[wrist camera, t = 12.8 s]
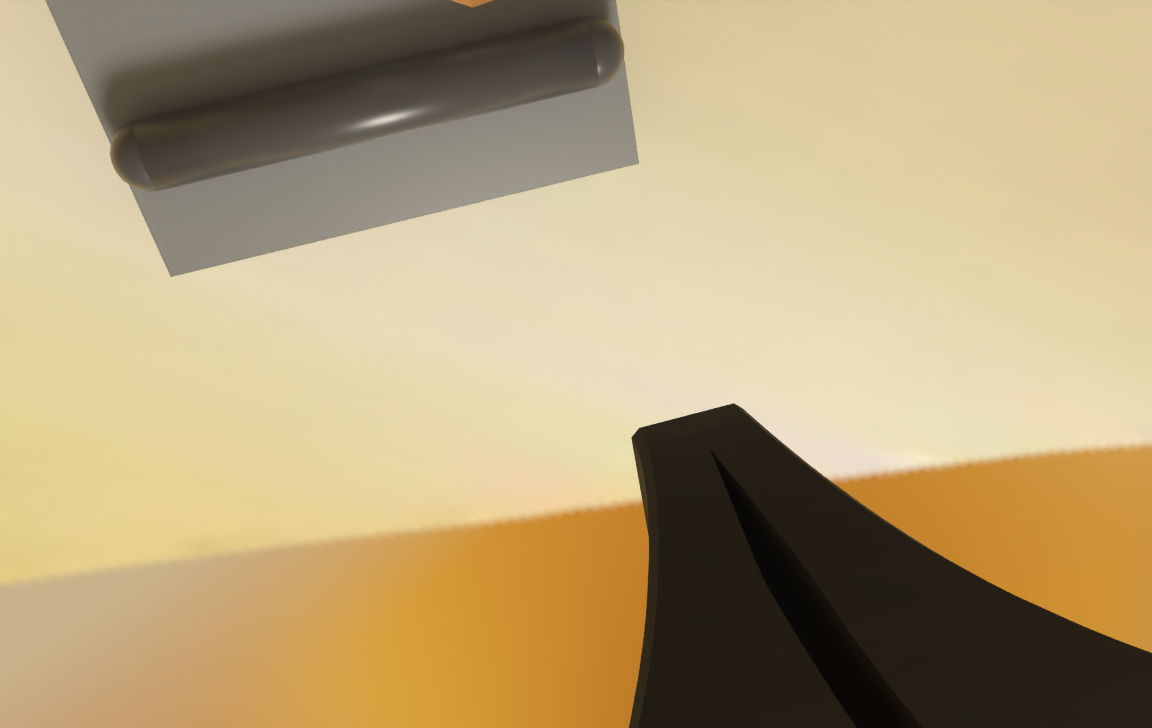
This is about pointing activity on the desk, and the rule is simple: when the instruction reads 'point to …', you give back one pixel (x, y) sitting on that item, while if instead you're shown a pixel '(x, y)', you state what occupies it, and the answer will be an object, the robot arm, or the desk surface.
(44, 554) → the desk surface
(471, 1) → the lever
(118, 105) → the strip
